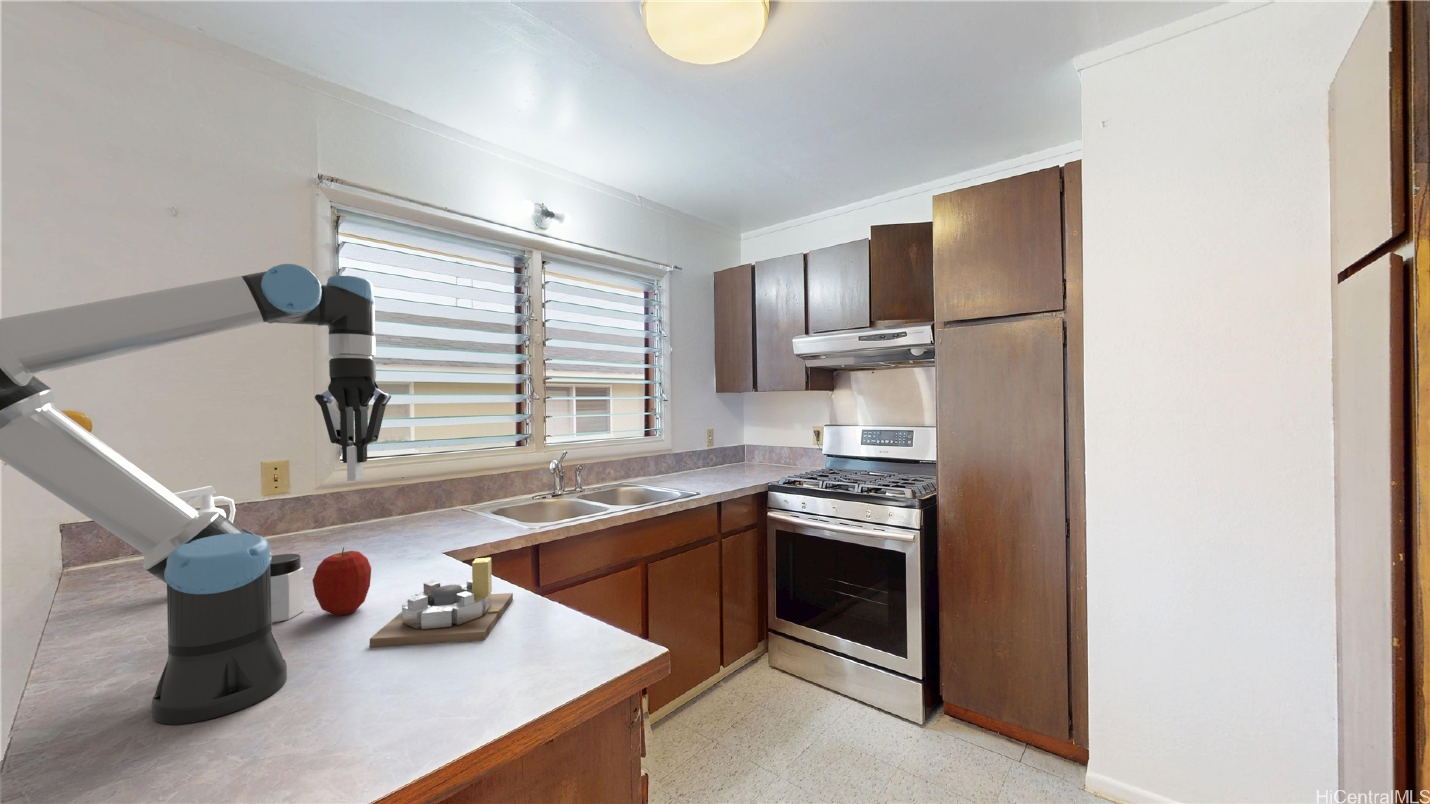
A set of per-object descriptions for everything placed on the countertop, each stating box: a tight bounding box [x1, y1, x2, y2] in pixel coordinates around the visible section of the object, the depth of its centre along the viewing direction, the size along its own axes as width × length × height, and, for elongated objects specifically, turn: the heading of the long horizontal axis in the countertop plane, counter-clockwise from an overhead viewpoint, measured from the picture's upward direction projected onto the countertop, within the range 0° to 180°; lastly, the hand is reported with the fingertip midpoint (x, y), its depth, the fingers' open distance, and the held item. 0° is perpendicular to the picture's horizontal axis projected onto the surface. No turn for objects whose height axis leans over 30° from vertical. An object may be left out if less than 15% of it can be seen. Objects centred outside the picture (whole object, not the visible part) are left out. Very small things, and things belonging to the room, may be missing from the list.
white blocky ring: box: [401, 557, 493, 629], centre depth 109 cm, size 16×15×10 cm
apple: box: [312, 547, 372, 617], centre depth 114 cm, size 10×10×14 cm
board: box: [369, 584, 514, 648], centre depth 109 cm, size 20×20×6 cm
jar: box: [270, 553, 305, 624], centre depth 112 cm, size 9×8×12 cm
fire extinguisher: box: [173, 485, 237, 524], centre depth 129 cm, size 7×12×25 cm, turn 147°
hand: (355, 479), depth 105 cm, fingers closed
